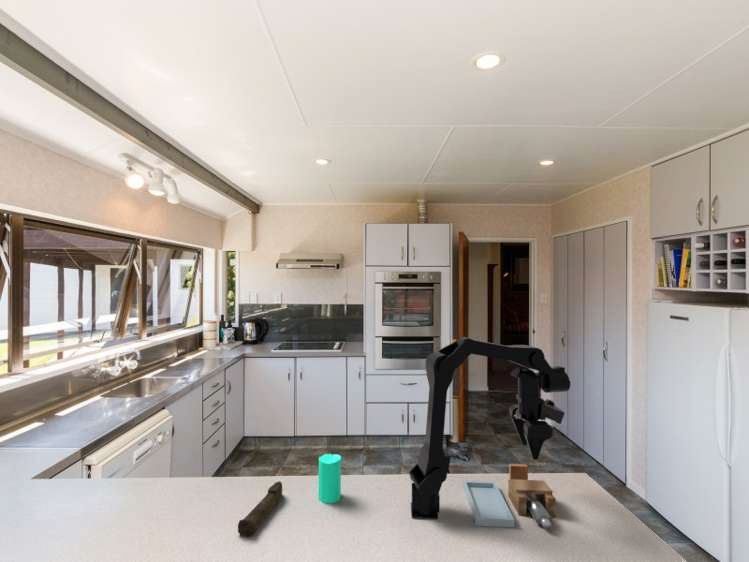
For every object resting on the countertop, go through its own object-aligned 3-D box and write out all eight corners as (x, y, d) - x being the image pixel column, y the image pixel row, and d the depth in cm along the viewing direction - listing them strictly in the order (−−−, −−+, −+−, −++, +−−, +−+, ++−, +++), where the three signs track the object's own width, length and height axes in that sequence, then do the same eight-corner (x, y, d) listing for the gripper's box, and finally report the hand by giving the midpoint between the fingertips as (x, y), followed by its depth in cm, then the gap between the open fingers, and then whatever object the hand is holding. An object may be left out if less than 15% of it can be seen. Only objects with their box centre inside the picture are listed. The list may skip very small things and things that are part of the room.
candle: (345, 495, 106) (345, 451, 106) (331, 505, 101) (331, 458, 101) (327, 489, 109) (328, 446, 110) (313, 499, 104) (314, 453, 104)
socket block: (518, 515, 98) (518, 493, 98) (508, 496, 107) (508, 476, 107) (555, 516, 97) (555, 495, 97) (542, 497, 106) (542, 477, 106)
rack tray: (476, 525, 93) (476, 518, 93) (463, 486, 111) (463, 480, 112) (514, 527, 92) (514, 520, 92) (495, 488, 111) (495, 482, 111)
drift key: (518, 500, 104) (518, 478, 104) (509, 484, 113) (509, 463, 113) (536, 500, 104) (536, 478, 104) (526, 484, 113) (526, 464, 113)
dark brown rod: (252, 540, 87) (253, 518, 87) (236, 536, 88) (237, 516, 88) (290, 497, 105) (291, 479, 106) (277, 495, 106) (277, 477, 107)
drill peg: (539, 533, 90) (539, 517, 91) (521, 502, 104) (521, 488, 104) (555, 534, 90) (555, 518, 90) (535, 503, 104) (535, 489, 104)
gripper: (575, 404, 95) (576, 469, 94) (548, 385, 113) (548, 440, 113) (528, 402, 96) (528, 467, 95) (508, 384, 114) (508, 438, 114)
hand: (529, 452), depth 104 cm, fingers open, 9 cm apart
